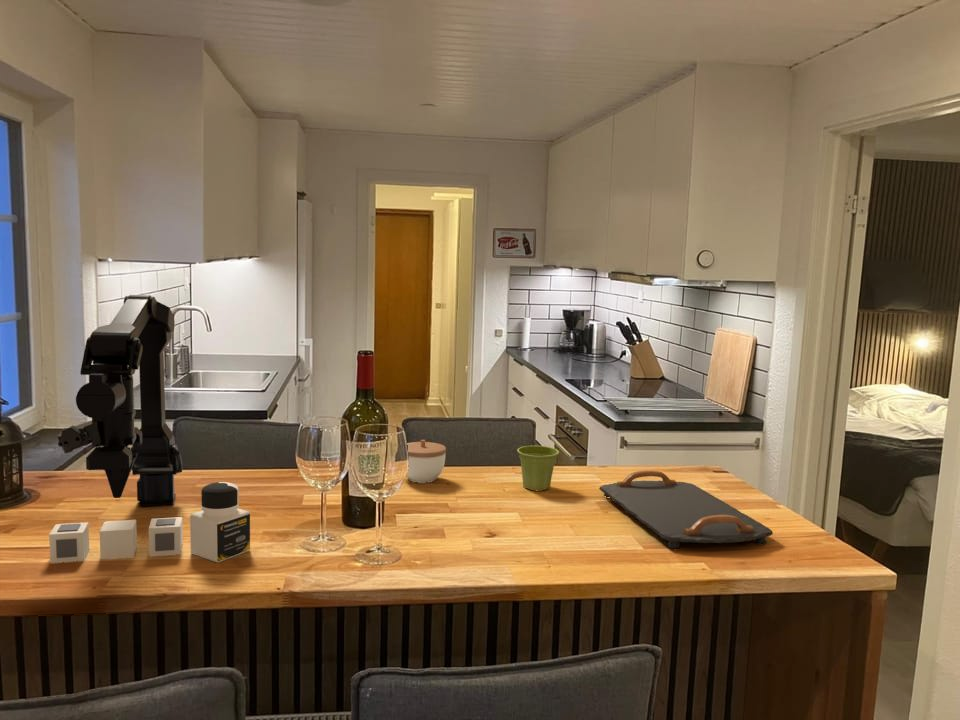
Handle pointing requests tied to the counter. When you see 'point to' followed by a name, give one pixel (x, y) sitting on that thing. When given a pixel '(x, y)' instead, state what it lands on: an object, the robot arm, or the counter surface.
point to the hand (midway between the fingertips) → (117, 497)
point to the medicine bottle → (220, 524)
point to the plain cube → (118, 539)
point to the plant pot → (537, 466)
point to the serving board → (683, 511)
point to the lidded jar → (425, 461)
